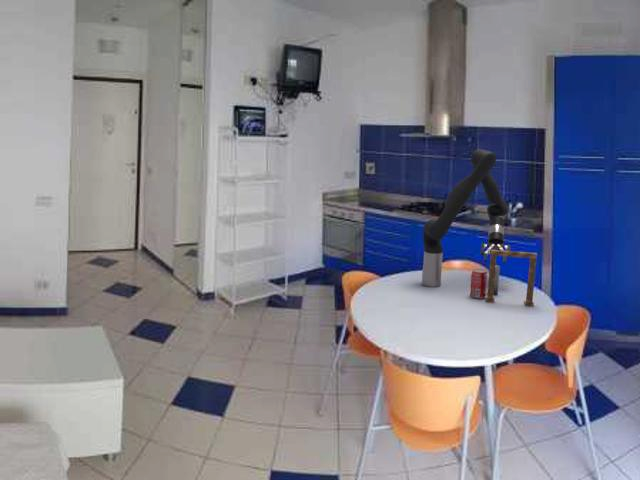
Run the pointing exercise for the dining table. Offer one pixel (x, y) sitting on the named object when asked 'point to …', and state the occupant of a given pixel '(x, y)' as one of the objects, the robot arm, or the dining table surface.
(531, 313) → the dining table surface
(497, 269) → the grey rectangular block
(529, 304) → the arch
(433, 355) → the dining table surface
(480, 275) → the soda can
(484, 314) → the dining table surface
